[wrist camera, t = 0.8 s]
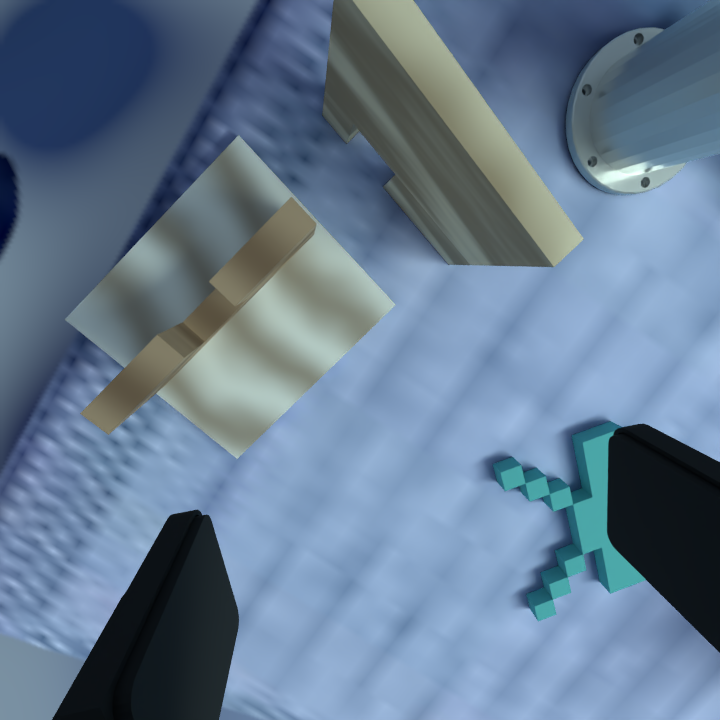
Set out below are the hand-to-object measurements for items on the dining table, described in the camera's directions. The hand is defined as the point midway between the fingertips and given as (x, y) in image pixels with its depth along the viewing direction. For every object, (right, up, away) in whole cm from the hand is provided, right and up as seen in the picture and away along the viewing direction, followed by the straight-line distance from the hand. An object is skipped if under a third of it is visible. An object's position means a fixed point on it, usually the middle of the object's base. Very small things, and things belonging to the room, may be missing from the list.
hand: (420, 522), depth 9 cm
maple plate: (+2, +18, +25) cm, 31 cm away
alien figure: (+25, -13, +36) cm, 46 cm away
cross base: (-12, +8, +25) cm, 29 cm away
